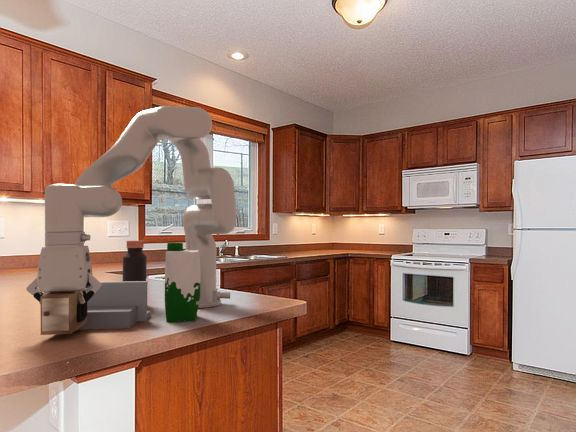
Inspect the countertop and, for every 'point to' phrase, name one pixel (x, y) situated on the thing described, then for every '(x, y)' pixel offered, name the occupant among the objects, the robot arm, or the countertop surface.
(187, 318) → the milk carton
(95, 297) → the wall board
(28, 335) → the countertop surface
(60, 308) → the tan wooden block
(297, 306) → the countertop surface
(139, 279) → the bottle
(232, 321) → the countertop surface
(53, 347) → the countertop surface
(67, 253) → the robot arm
